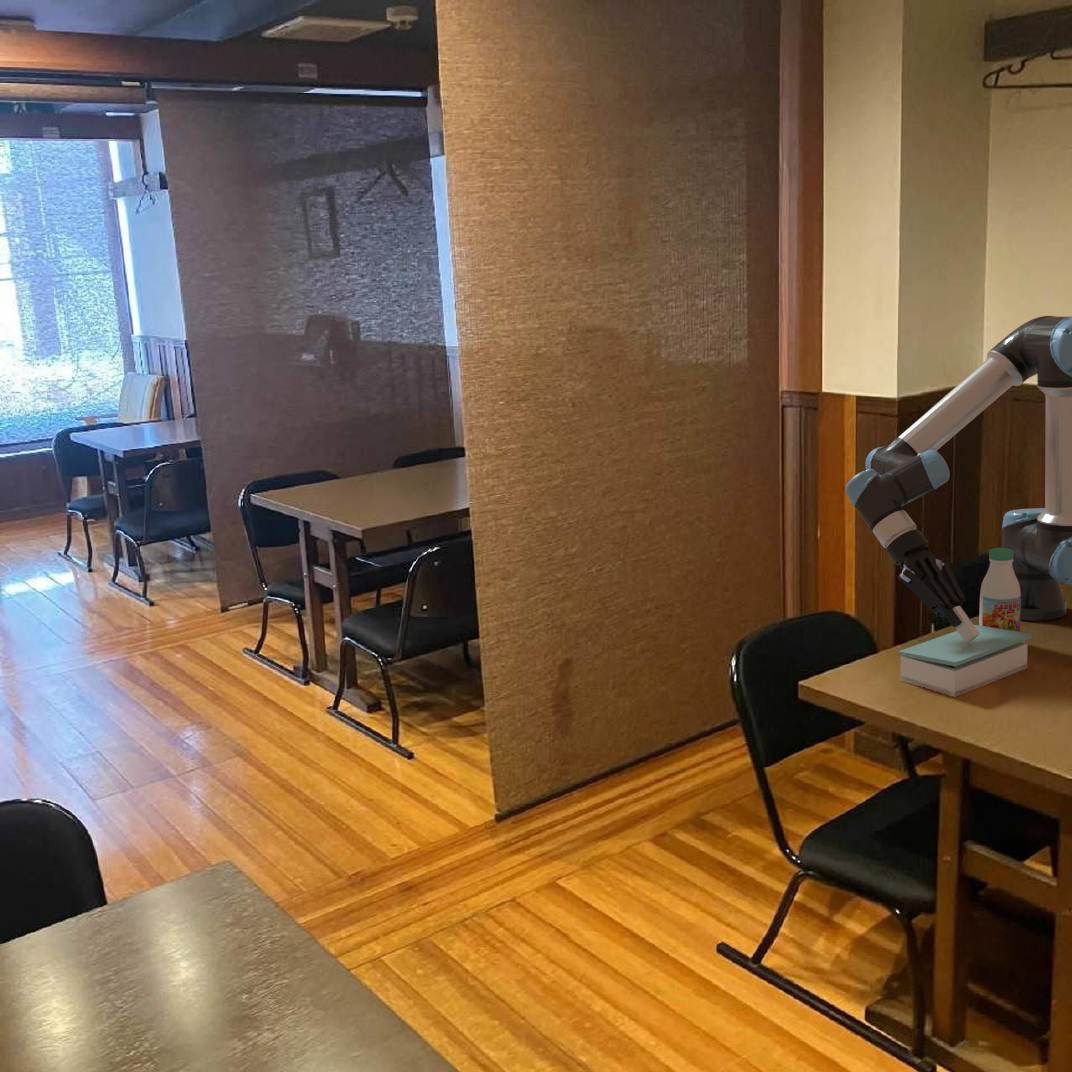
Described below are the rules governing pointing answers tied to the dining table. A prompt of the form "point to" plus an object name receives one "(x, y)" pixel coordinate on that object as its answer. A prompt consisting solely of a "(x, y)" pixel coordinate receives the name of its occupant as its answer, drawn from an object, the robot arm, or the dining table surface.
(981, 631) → the cover
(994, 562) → the milk bottle
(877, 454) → the robot arm
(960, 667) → the white shallow box
